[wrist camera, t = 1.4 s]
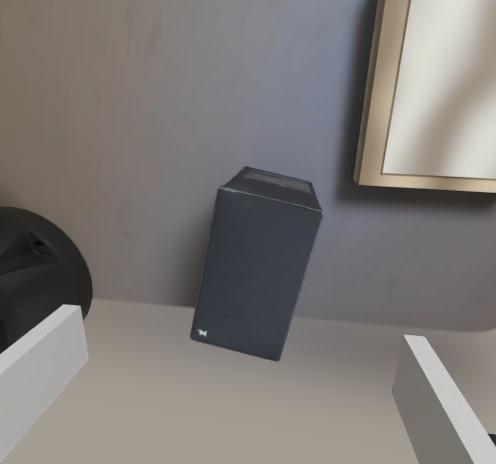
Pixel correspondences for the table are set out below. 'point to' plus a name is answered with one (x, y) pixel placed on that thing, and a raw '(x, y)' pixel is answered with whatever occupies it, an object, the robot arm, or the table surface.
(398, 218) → the table surface
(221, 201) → the small box
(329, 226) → the table surface
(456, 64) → the beech picture frame
